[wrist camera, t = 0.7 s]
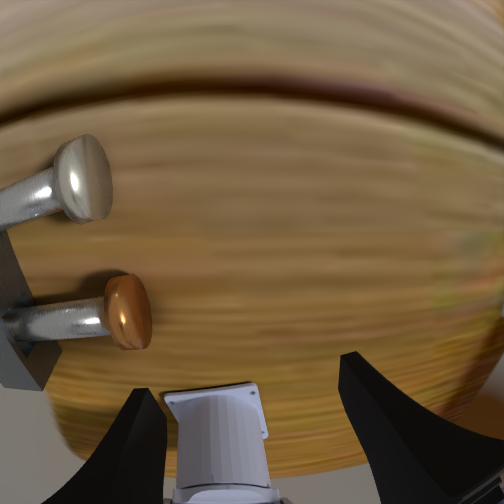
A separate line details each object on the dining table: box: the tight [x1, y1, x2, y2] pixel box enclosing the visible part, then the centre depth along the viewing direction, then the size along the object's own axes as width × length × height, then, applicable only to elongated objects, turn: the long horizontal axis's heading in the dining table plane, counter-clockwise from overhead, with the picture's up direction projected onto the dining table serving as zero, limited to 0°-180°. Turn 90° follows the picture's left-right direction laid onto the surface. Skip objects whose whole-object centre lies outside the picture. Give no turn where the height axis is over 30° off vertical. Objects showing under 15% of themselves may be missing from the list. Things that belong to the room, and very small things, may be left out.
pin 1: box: [0, 134, 113, 231], centre depth 13 cm, size 13×4×4 cm, turn 98°
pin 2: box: [2, 274, 152, 350], centre depth 16 cm, size 13×4×4 cm, turn 98°
